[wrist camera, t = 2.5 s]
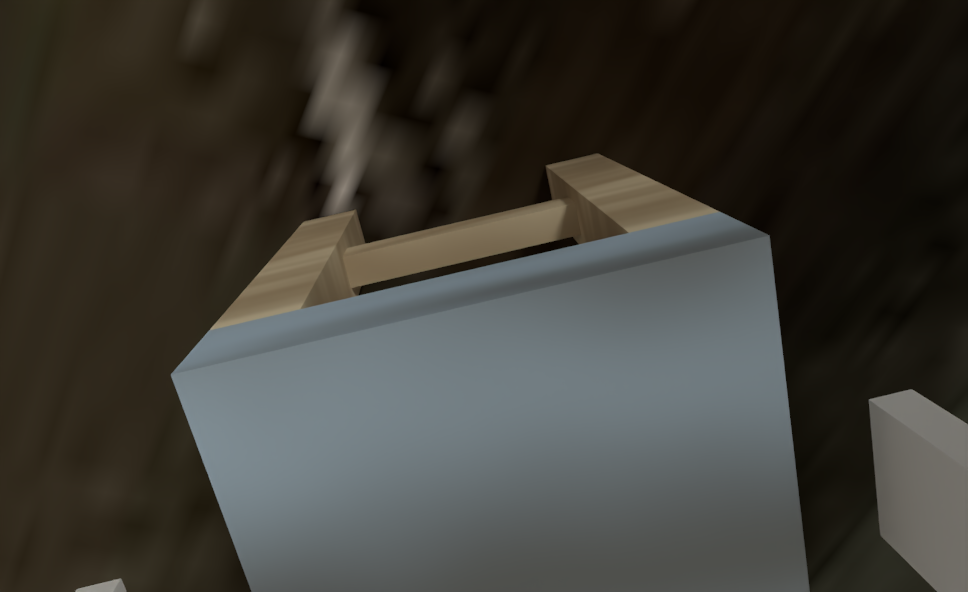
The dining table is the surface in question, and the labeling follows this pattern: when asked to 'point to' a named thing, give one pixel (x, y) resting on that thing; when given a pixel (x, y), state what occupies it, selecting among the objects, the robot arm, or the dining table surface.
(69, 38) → the dining table surface
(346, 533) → the stool
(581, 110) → the dining table surface
